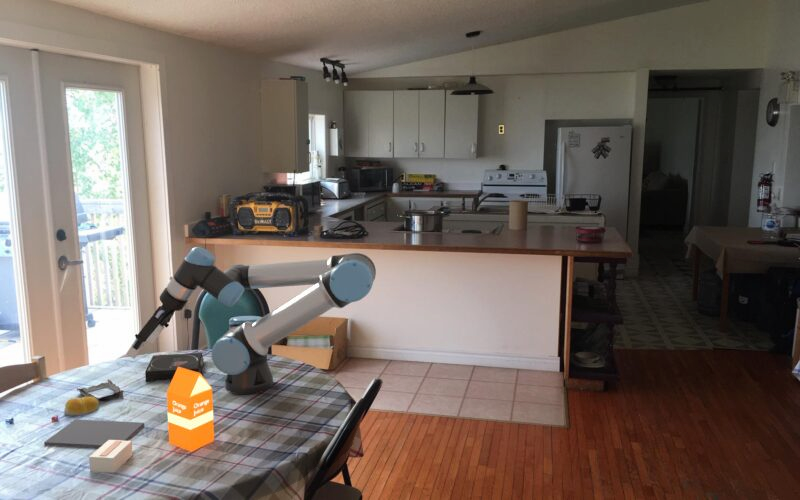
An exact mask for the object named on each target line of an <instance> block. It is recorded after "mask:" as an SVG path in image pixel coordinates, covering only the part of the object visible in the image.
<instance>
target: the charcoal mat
mask: <svg viewBox="0 0 800 500" xmlns="http://www.w3.org/2000/svg"><path fill="white" fill-rule="evenodd" d="M144 426H145V423H144V422H134V421H116V420H112V421H111V420H99V419H97V420H94V419H74V420H72V421H70V423H68V424H67V425H65V426H64V427H63V428H61V429H60V430H58V432H56V433H54V434H53V435H51V437H49V438H48V439H47V440H45V441H44V443H43V444H44V446H54V447H55V446H56V447H73V448H74V447H75V448H76V447H77V448H91V449H92V448H94V449H99V448H100V447H101V446H102V445H103V444H104V443H106V442H107V441H108V440H124V441H130V439H131V438H132V437H134V435H135V434H136V433H137V432H139V431H140V430H141V429H142V428H143V427H144Z"/></svg>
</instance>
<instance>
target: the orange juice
mask: <svg viewBox="0 0 800 500" xmlns="http://www.w3.org/2000/svg"><path fill="white" fill-rule="evenodd" d="M170 381H171V382H170V384H169V386H168V388H167V390H166V402H167V404H166V405H167V423H168V426H167V427H168V443H169V444H171V445H174V446H175V447H178V448H181V449H183V450H186V451H188V452H194V451H196V450H198V449H199V448H202V447H204V446H206V445H208V444H210V443H211V442H214V441H215V430H214V428H215V427H214V408H213V407H214V405H213V402H214V401H213V387H212V386H211V385H210V384H209V382H208V380H206V379H205V377H204V376H203V375H202V374H201V373H198V372H195V371H191V370H188V369H184V368H181V367H178V368H177V370H176V372H175V375H174V377H173V379H172V380H170Z"/></svg>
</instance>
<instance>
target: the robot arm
mask: <svg viewBox="0 0 800 500" xmlns="http://www.w3.org/2000/svg"><path fill="white" fill-rule="evenodd" d="M215 262H216V258H215V255H213V254H212V253H211V252H210V251H209V250H207V249H206V248H203V247H200V246H195V247H192V249H191V250H190V251H189V253H187V254H186V256H185V257H184V259H183V260H182V262H181V264H180V265H179V267H178V269H177V270H176V271H175V273H174V274H173V276H170V277H169V280H170V281H169V282H168V283H167V285H166V287H165V288H164V289H163V290H162V291H161V292H162V293H160V295H159V302H160V303H161V304H162V305H160V306H158V308H157V309H156V310H155V311H154V313H153V314H152V315H151V316H150V318H149V320H147V322H146V324H144V326H143V327H142V328H141V330H139V332H138V334H137V333H135V335H134V337H135V340H134V341H133V343H132V344H131V346H130V347H129V349H128V350H127V352H126V355H127V356H128V357H130V358H132V359H133V360H135V359H136V357H137V356H138V355H139V353H140V352H141V350H142V348H143V347H144V346H145V344H146V342H149V343H151V344H152V345H154V343H155V342H156V341H157V339H158V337H159V336H160V335H161V333H162V331H163V330H164V329H165V328H169V326H170V324H169V323H170V322H171V319H172V317H173V316H174V314H175V313H176V312H178V311H182V310H183V308H184V307H185V305H186V304H187V303H188V301H189V299H191V297H192V296H193V294H194V293H195V292H196V290H197V288H198V287H199V288H200V289H202V290H204V291H205V292H206V293H208V294H209V295H211V296H212V297H213V298H214V299H216V300H217V301H218V302H220V303H222V304H223V305H225V306H227V307H229V308H231V307H233V306H235V304H236V303H237V302H238V301H239V299H240V298H241V297H242V296H243V293H244V292H245V290H253V289H255V290H256V289H257V290H258V289H267V288H281V287H282V288H284V287H295V286H296V287H297V286H310V285H312V286H310V287H309V288H307V289H305V290H304V291H302V292H301V293H299V294H298V295H296V296H294V297H293V298H290V299H289V300H288V301H286V302H285V303H283V304H281V305H280V306H279V307H276V308H275V309H274V310H272V311H270V312H269V313H267V314H266V315H264V316H259V315H258V316H257V315H239V316H234V317H231V318H230V319H229V321H228V328H229V330H228V331H226V333H224V334H223V335H222V336H221V337H219V338H218V339H217V340H216V341H215V342H214V345H213V346H212V349H211V360H212V362H213V365H214V366H215V367H216V369H217V370H219V371H220V372H221V373H223V374H226V378H225V382H224V384H225V389H226V390H227V392H229V393H232V394H237V395H252V394H259V393H263V392H265V391H268V390H269V389H271V388H272V387H273V386H274V377H273V374H272V371H271V369H270V365H269V363H268V353H269V348H270V347H271V346H273V345H274V344H276V343H278V342H280V341H281V340H283V339H284V338H286V337H287V336H289V335H291V334H293V333H294V332H296V331H298V330H299V329H301V328H302V327H304V326H306V325H307V324H309V323H310V322H312V321H313V320H315V319H317V318H318V317H320V316H321V315H323V314H325V313H326V312H329V311H330V310H332V309H333V308H337V309H343V308H345V307H346V306H349V304H351V303H356V302H358V301H361V300H362V299H365V297H366V296H367V295H368V294H369V293H370V292H371V289H372V288H373V284H374V281H375V279H376V275H377V273H376V266H375V263H374V262H373V260H372V259H371V258H370V257H369V256H367V255H366V254H364V253H359V252H353V253H345V254H339V255H331V256H330V257H329V258H327V259H315V260H305V261H304V260H302V261H301V260H299V261H290V262H276V263H275V262H274V263H264V264H253V265H252V264H251V265H245V264H243V263H239V264H238V263H237V264H234V265H231V266H229V267H228V268H227V269H226V270H224V271H222V270H221V269H219V268H218V267H217V266H215V265H214V264H215Z"/></svg>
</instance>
